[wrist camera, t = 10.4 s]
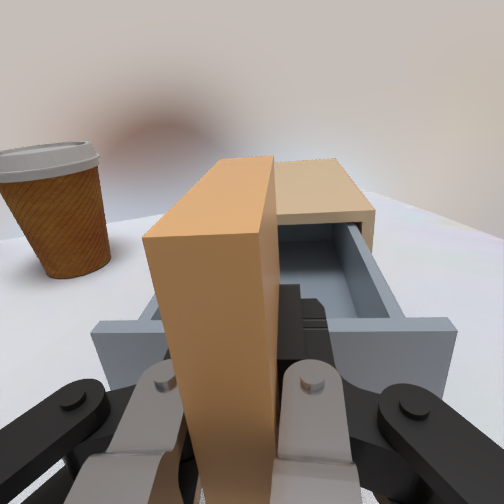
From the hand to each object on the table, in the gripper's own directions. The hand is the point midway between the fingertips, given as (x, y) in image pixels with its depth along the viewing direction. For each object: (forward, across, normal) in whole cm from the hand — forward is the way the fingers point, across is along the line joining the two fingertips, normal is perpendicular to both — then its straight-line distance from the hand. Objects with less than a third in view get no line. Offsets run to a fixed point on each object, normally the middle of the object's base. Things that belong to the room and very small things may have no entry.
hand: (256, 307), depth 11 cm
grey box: (+7, 0, +7) cm, 11 cm away
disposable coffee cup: (+20, +21, +8) cm, 30 cm away
